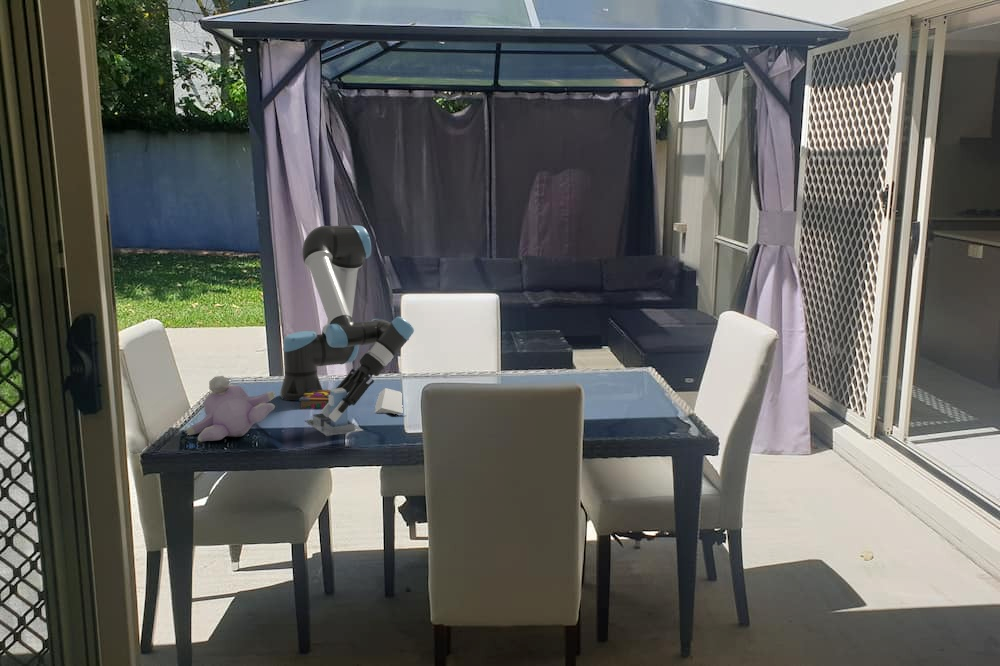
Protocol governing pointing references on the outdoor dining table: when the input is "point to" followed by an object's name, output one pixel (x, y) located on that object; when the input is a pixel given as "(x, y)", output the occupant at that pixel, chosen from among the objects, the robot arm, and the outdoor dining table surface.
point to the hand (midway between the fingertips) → (327, 417)
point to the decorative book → (315, 398)
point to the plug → (334, 400)
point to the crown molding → (389, 402)
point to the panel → (326, 428)
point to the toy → (230, 411)
